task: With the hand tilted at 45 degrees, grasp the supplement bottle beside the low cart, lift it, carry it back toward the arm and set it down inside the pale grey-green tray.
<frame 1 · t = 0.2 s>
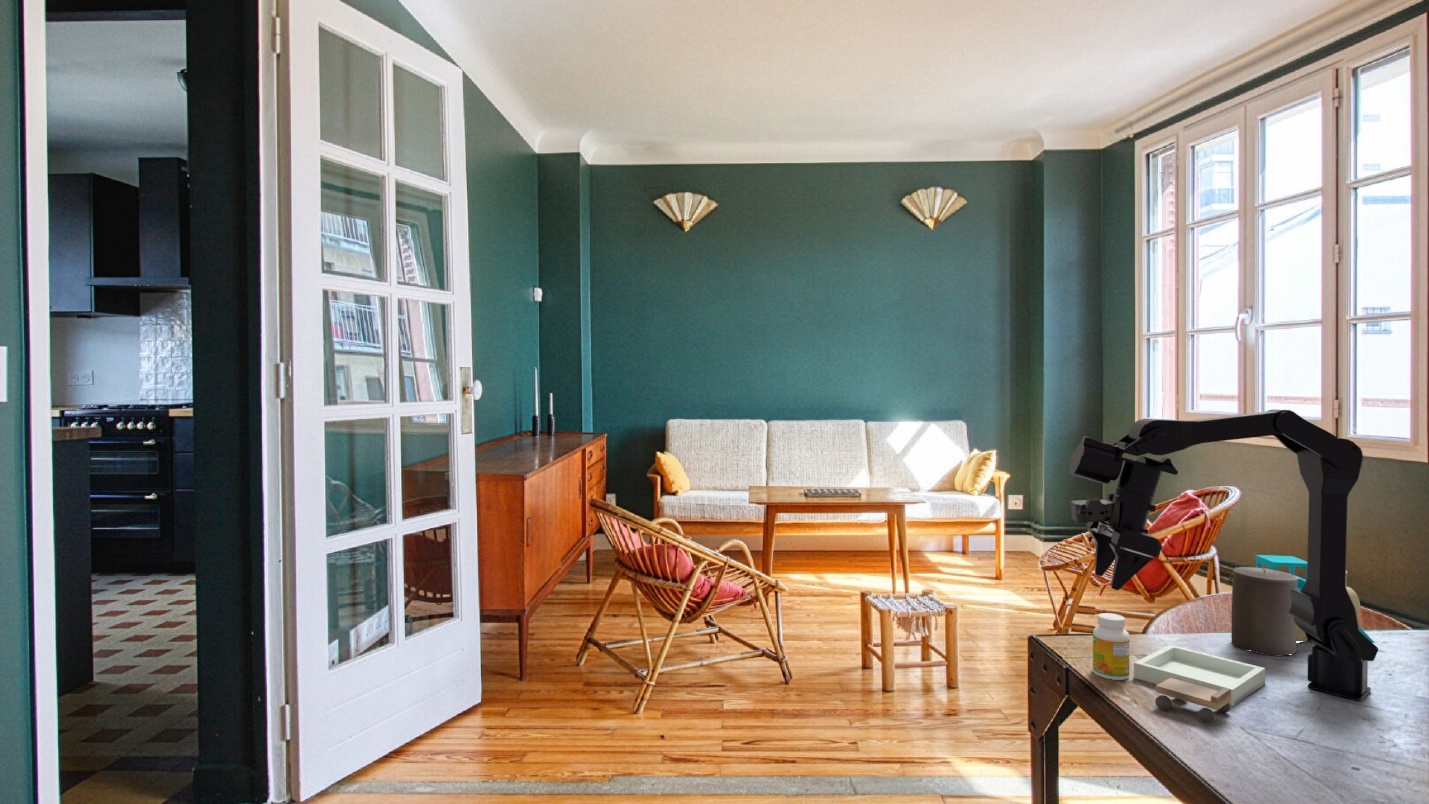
hand: (1106, 582, 124), 15 cm above the table, tool tilted 15°, fingers open, 9 cm apart
pillar candle: (1263, 648, 137), on the table
supplement bottle: (1110, 675, 124), on the table
toy train: (1313, 640, 142), on the table
cart: (1192, 710, 110), on the table
tray: (1198, 680, 121), on the table
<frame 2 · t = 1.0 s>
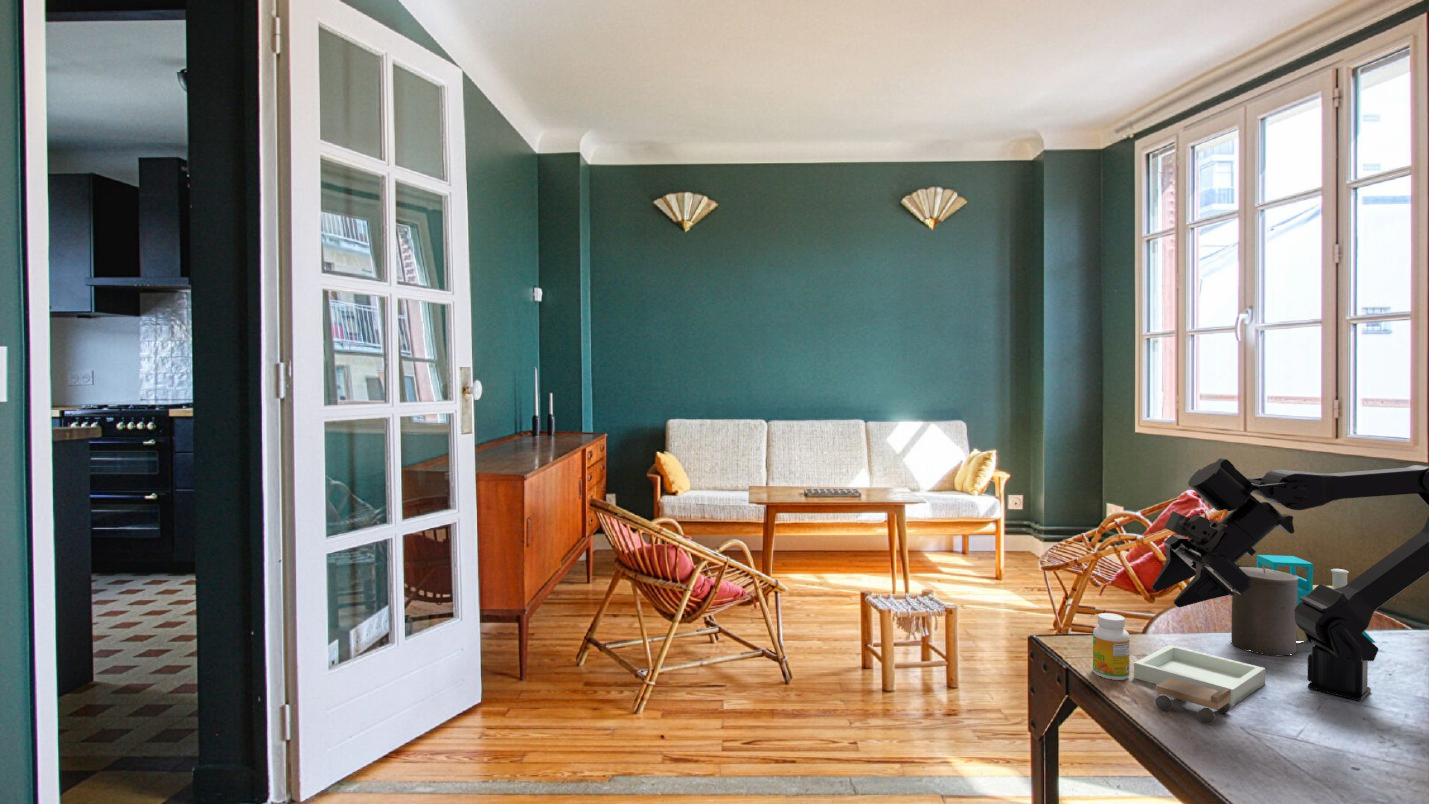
hand: (1164, 597, 122), 13 cm above the table, tool tilted 45°, fingers open, 9 cm apart
nothing on the table moved.
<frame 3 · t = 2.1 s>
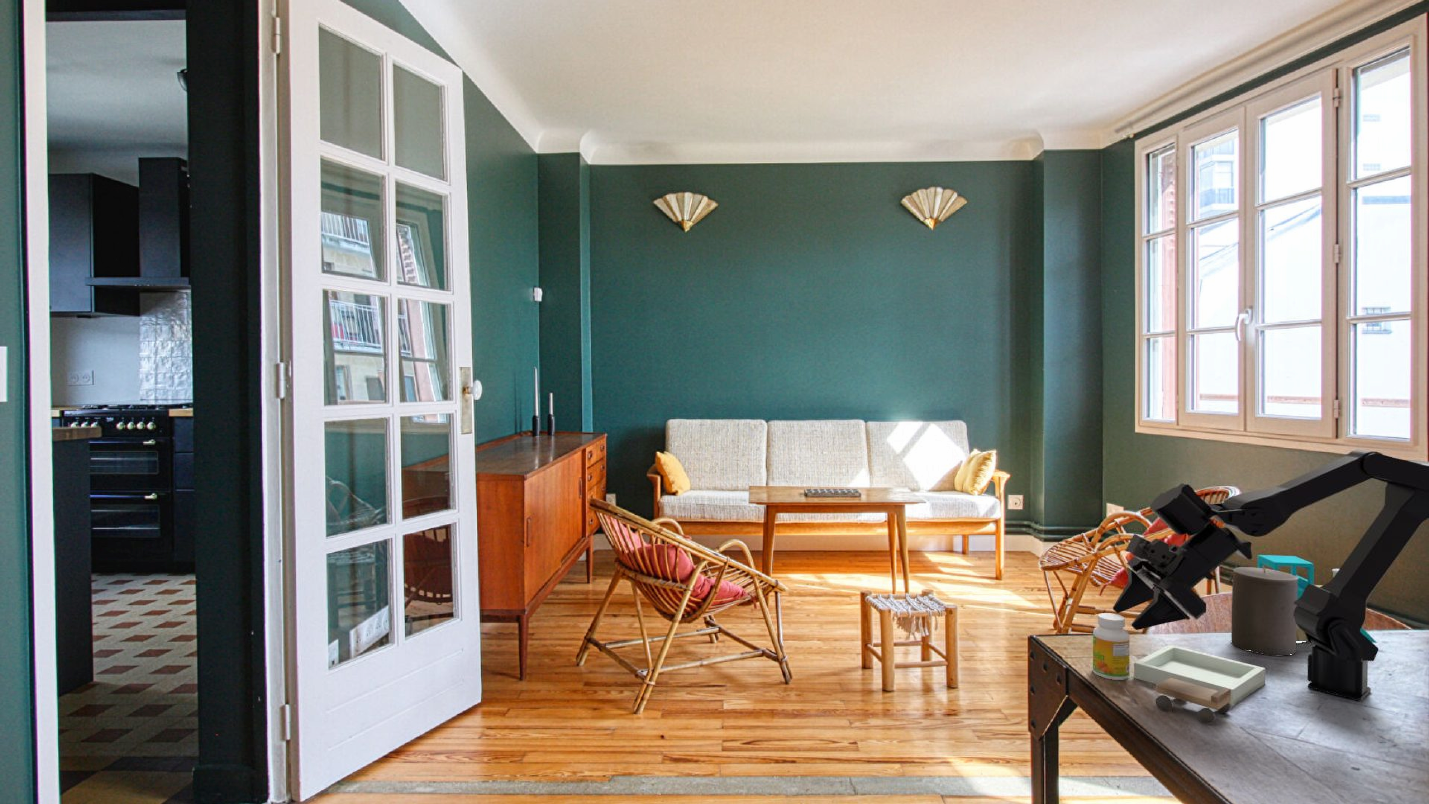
hand: (1123, 618, 124), 9 cm above the table, tool tilted 45°, fingers open, 9 cm apart
nothing on the table moved.
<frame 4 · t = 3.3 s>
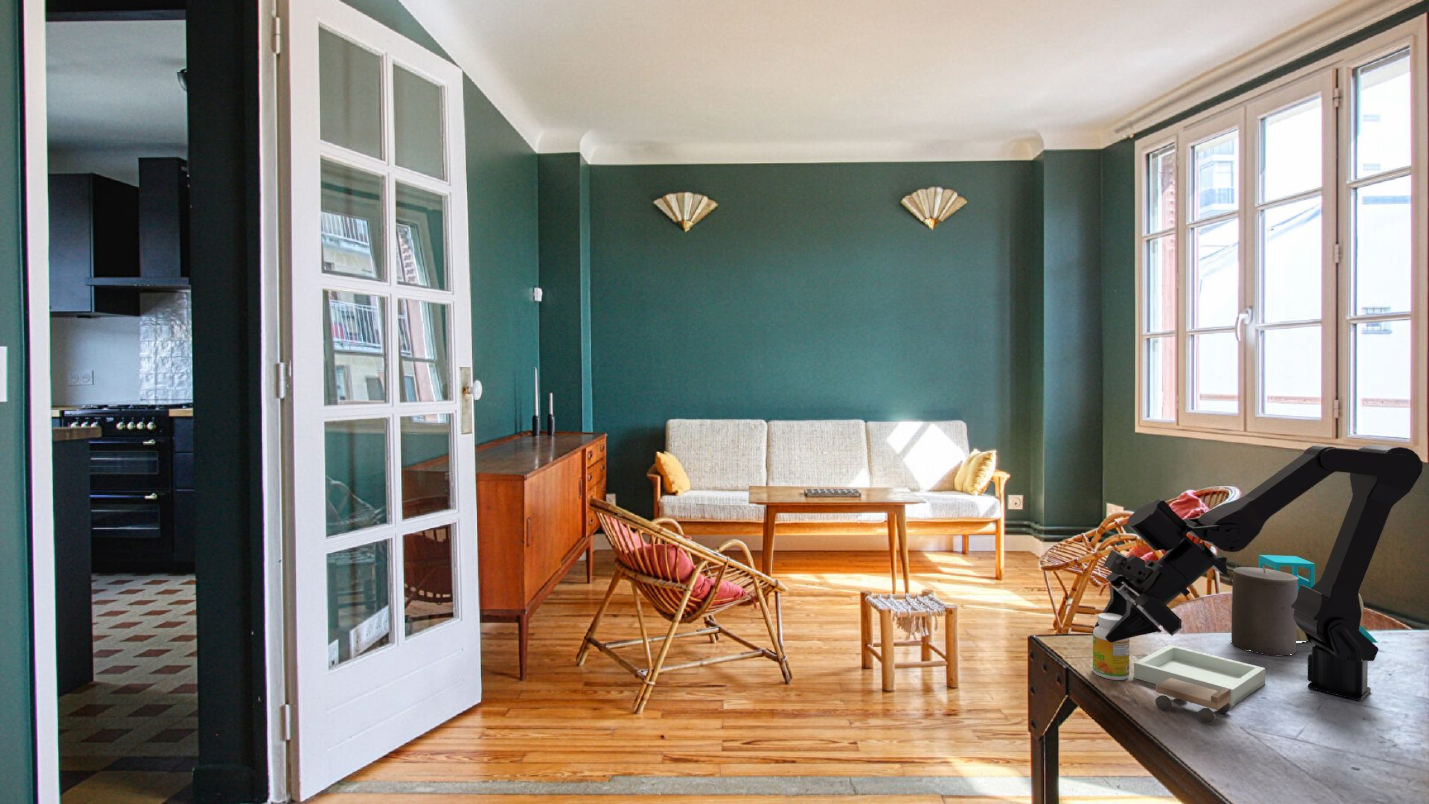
hand: (1101, 634, 124), 7 cm above the table, tool tilted 45°, fingers closed on supplement bottle, 5 cm apart
supplement bottle: (1110, 675, 124), on the table, touching gripper
everything else where it was.
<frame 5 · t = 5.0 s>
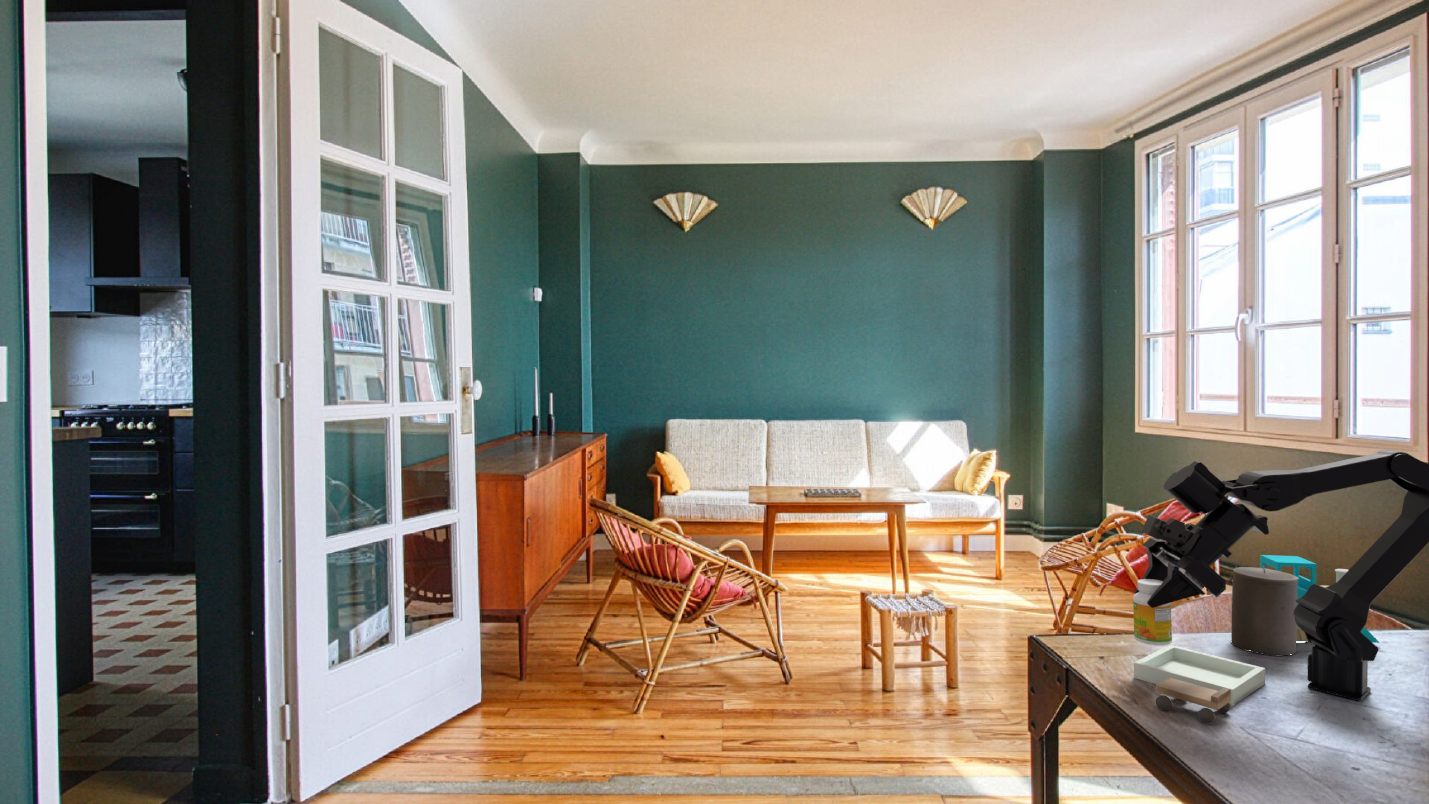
hand: (1142, 600, 123), 13 cm above the table, tool tilted 45°, fingers closed on supplement bottle, 5 cm apart
supplement bottle: (1153, 642, 123), point 6 cm above the table, touching gripper
everything else where it was.
when the fingers open (8 cm above the table, at t = 6.8 s): supplement bottle stays where it is, resting on tray.
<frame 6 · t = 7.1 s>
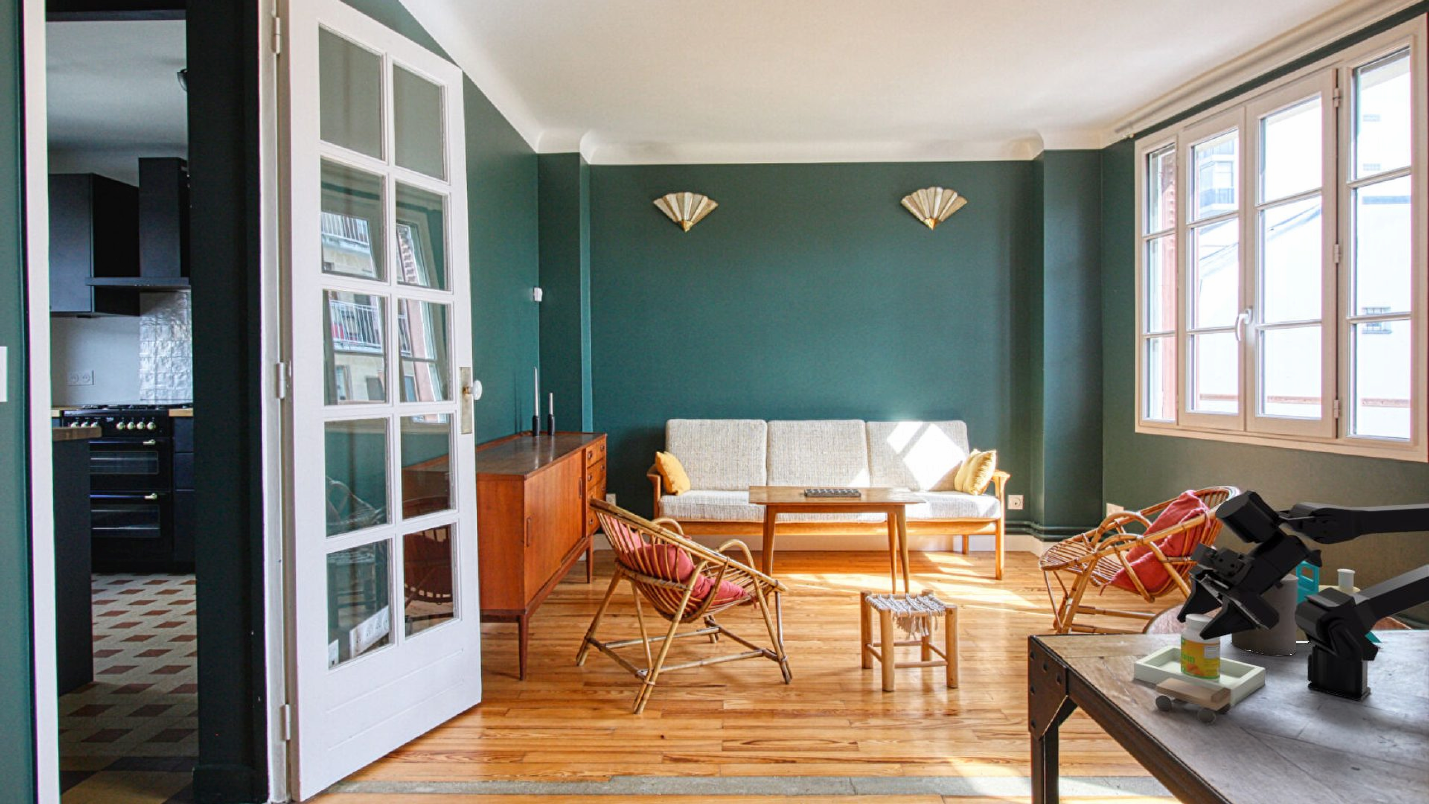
hand: (1189, 628, 121), 8 cm above the table, tool tilted 45°, fingers open, 8 cm apart
supplement bottle: (1200, 678, 121), resting on tray
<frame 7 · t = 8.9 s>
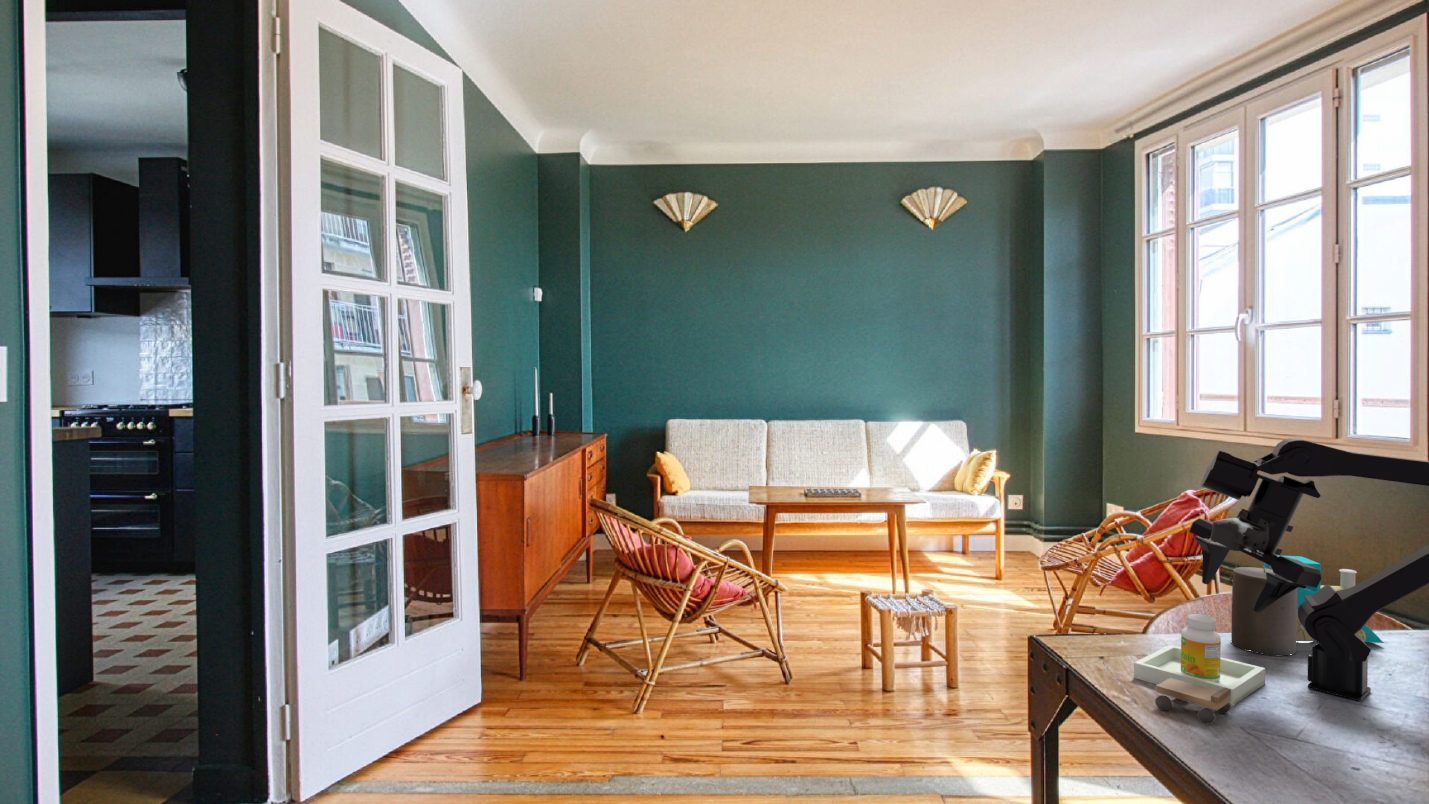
hand: (1229, 597, 124), 13 cm above the table, tool tilted 20°, fingers open, 9 cm apart
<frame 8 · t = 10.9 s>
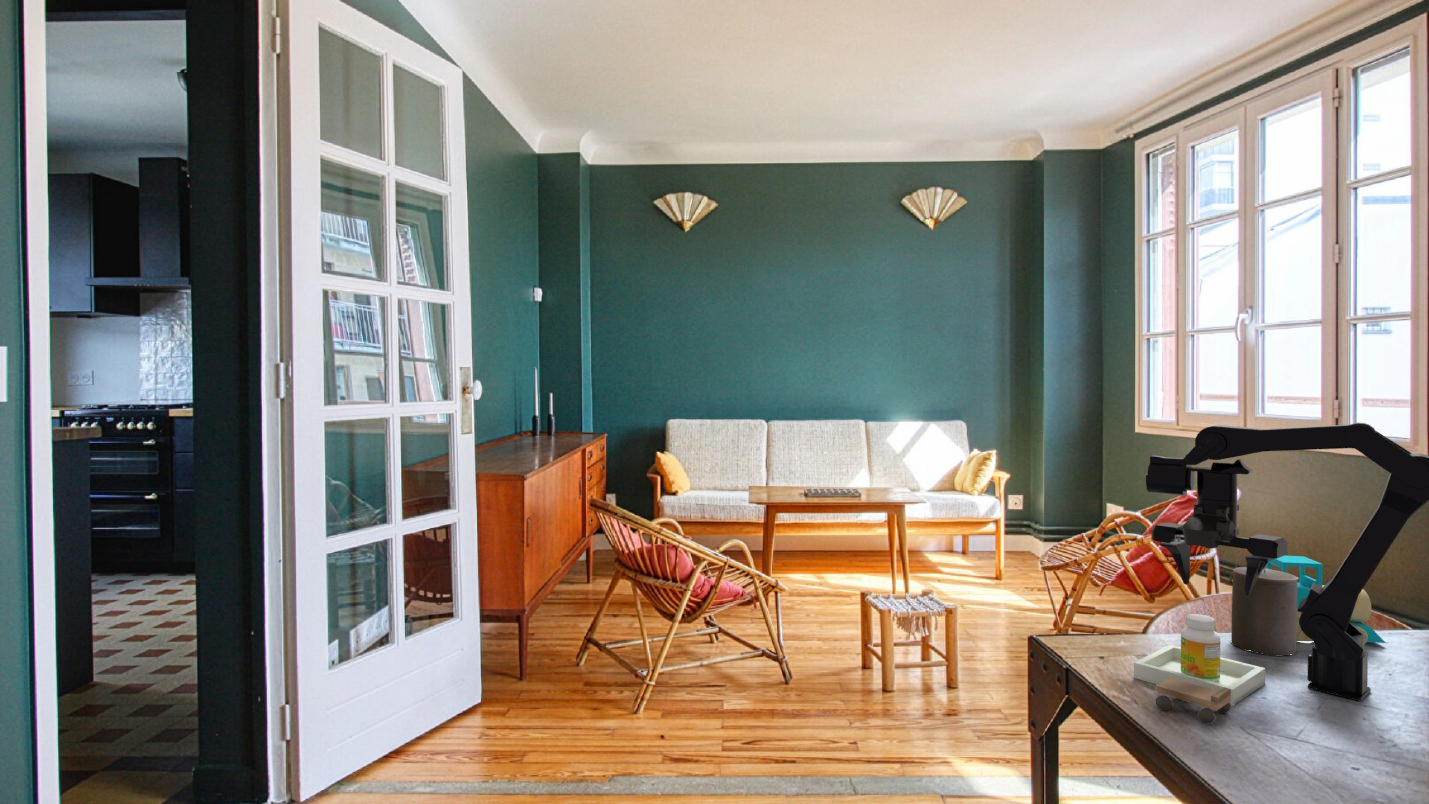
hand: (1215, 589, 128), 13 cm above the table, tool pointing down, fingers open, 9 cm apart
at the end: supplement bottle inside the target area on the tray (0.1 cm from its centre), point 0.4 cm above the tray's base; supplement bottle tilted 0°; the gripper is holding nothing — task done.
